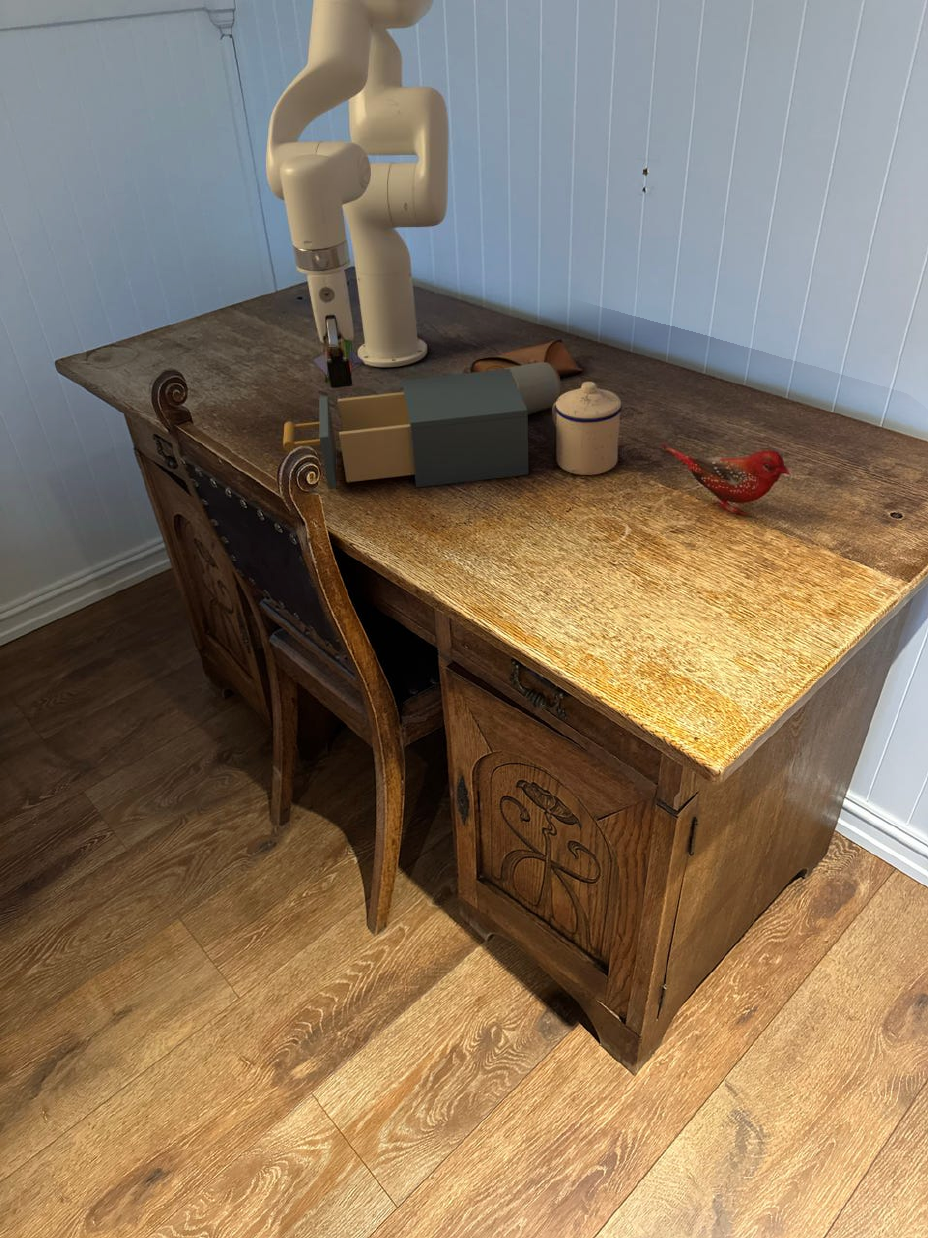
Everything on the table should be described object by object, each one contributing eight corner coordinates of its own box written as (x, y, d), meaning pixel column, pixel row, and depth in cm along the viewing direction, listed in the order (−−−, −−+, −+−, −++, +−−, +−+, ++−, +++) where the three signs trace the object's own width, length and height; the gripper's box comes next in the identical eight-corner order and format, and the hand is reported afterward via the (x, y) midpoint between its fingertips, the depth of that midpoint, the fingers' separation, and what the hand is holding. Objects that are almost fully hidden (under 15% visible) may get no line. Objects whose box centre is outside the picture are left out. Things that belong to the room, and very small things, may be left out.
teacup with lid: (632, 463, 127) (637, 385, 120) (582, 483, 123) (584, 404, 116) (578, 433, 135) (579, 358, 128) (529, 452, 131) (528, 376, 124)
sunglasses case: (493, 395, 146) (482, 354, 145) (477, 402, 153) (466, 363, 152) (587, 369, 152) (577, 330, 151) (567, 378, 159) (557, 340, 158)
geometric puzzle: (378, 370, 134) (353, 320, 133) (340, 385, 131) (314, 334, 129) (359, 386, 140) (335, 338, 139) (323, 400, 137) (298, 352, 136)
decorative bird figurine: (773, 534, 111) (786, 461, 105) (651, 490, 121) (657, 421, 115) (784, 524, 113) (798, 452, 106) (663, 481, 123) (669, 413, 116)
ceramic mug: (564, 412, 141) (564, 364, 136) (520, 425, 138) (519, 377, 133) (528, 390, 148) (527, 344, 144) (485, 403, 146) (483, 357, 141)
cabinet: (416, 487, 125) (409, 422, 119) (408, 441, 136) (402, 379, 130) (528, 474, 126) (527, 409, 120) (511, 429, 137) (509, 368, 131)
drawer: (289, 493, 124) (278, 441, 119) (291, 450, 134) (282, 400, 129) (433, 477, 125) (428, 425, 120) (424, 435, 136) (419, 385, 131)
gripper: (350, 272, 119) (368, 397, 130) (347, 233, 132) (363, 349, 143) (294, 279, 118) (316, 403, 130) (295, 238, 132) (316, 354, 143)
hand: (341, 373), depth 136 cm, fingers closed on geometric puzzle, 7 cm apart
